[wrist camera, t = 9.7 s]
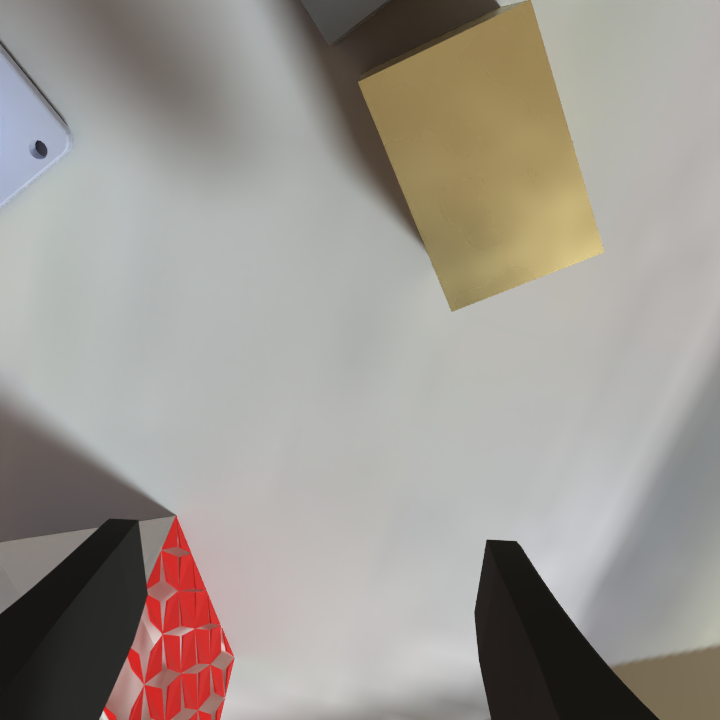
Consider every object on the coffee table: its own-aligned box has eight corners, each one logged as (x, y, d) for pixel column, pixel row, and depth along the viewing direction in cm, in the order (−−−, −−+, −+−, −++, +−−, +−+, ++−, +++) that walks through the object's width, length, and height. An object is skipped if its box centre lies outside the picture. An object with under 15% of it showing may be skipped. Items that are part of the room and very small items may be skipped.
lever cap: (439, 264, 21) (451, 311, 17) (361, 73, 18) (357, 82, 15) (563, 213, 20) (604, 252, 16) (499, 7, 18) (530, -1, 14)
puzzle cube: (64, 678, 30) (-36, 881, 22) (-14, 542, 26) (-160, 730, 19) (236, 656, 29) (188, 861, 22) (178, 513, 25) (99, 699, 18)
